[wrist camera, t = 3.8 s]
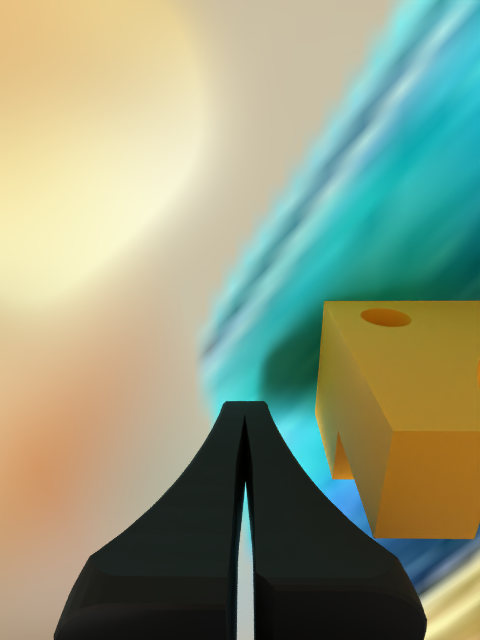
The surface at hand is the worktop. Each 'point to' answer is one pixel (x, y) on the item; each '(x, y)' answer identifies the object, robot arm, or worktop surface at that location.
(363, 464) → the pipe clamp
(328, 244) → the worktop surface
